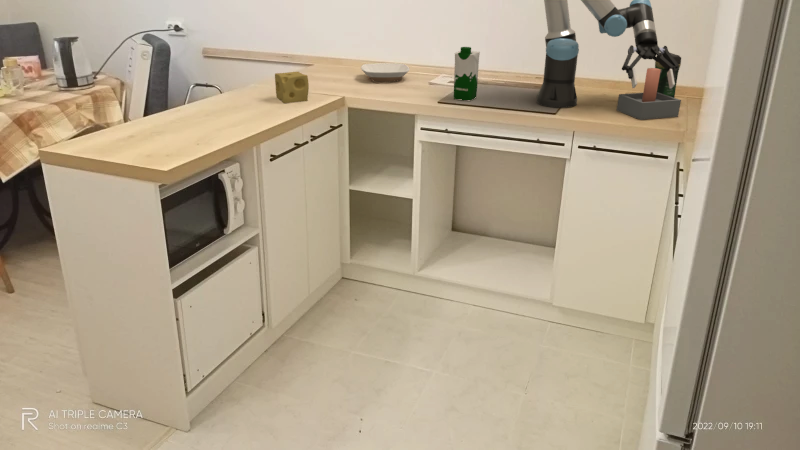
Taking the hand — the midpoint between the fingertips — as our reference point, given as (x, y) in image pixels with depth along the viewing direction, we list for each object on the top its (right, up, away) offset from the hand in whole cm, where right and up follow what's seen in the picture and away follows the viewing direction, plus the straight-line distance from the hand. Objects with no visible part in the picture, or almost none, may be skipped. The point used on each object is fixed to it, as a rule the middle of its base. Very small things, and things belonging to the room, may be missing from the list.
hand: (653, 86), depth 227 cm
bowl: (-98, +16, +58) cm, 115 cm away
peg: (-1, -9, +5) cm, 10 cm away
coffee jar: (+12, -1, +23) cm, 26 cm away
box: (-1, -9, +5) cm, 10 cm away
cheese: (-133, -1, +21) cm, 135 cm away
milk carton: (-65, 0, +25) cm, 70 cm away
